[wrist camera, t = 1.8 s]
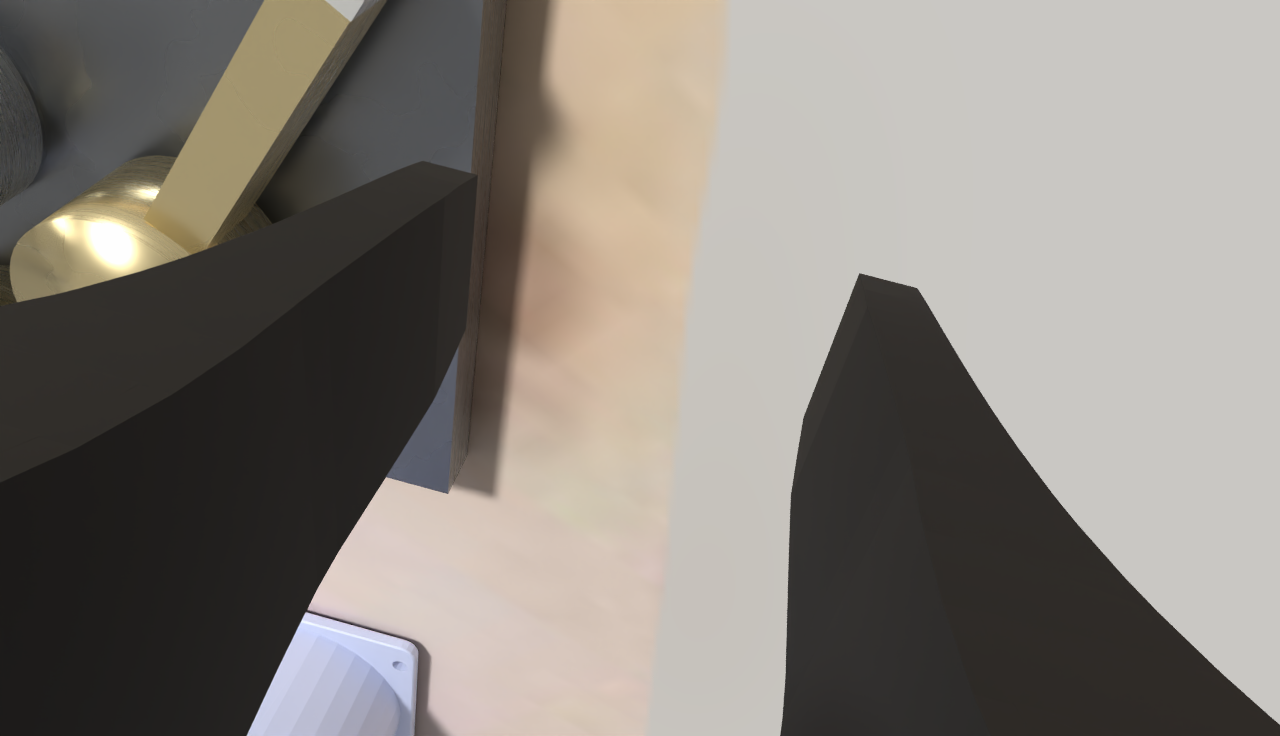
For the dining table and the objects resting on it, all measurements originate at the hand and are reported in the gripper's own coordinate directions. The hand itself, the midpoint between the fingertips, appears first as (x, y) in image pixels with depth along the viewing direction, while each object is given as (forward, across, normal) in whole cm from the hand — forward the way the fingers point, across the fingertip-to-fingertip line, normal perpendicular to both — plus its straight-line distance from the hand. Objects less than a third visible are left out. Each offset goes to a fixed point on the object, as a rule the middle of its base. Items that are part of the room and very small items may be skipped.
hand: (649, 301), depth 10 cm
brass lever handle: (+8, +9, +4) cm, 12 cm away
